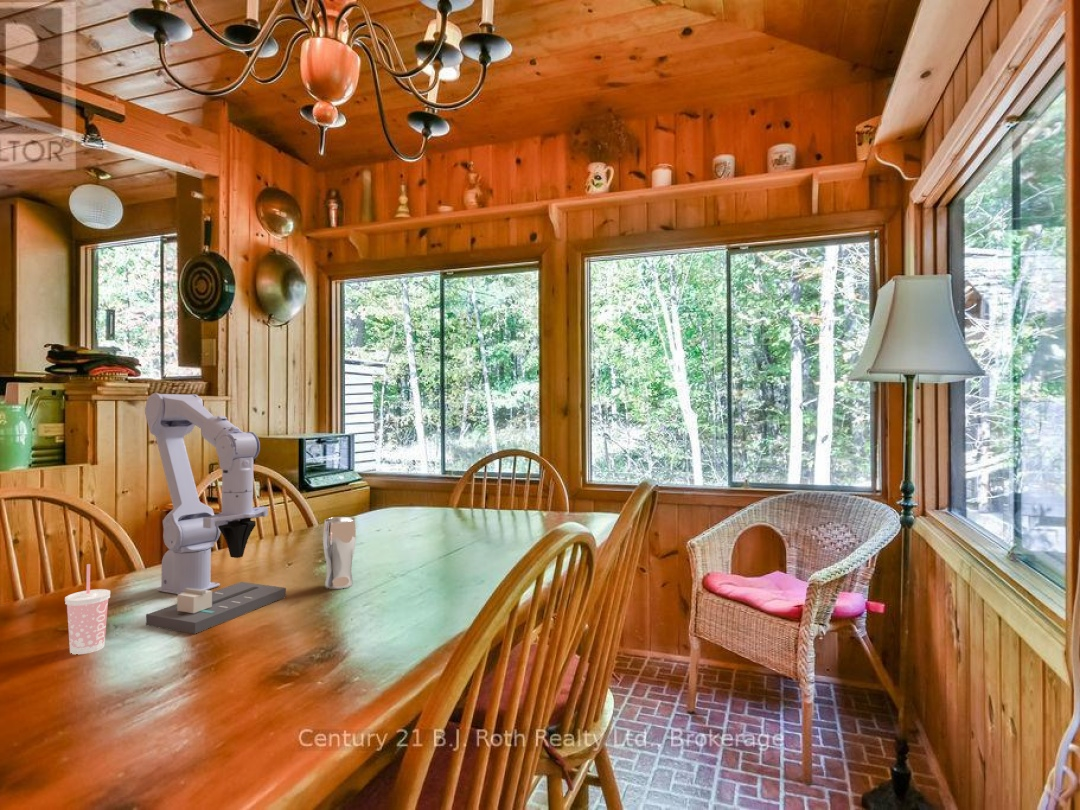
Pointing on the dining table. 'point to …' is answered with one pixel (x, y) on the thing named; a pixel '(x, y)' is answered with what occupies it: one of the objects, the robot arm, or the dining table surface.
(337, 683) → the dining table surface
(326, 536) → the beer glass
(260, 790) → the dining table surface
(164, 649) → the dining table surface
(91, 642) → the beverage cup
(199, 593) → the fader tab
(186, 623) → the console
